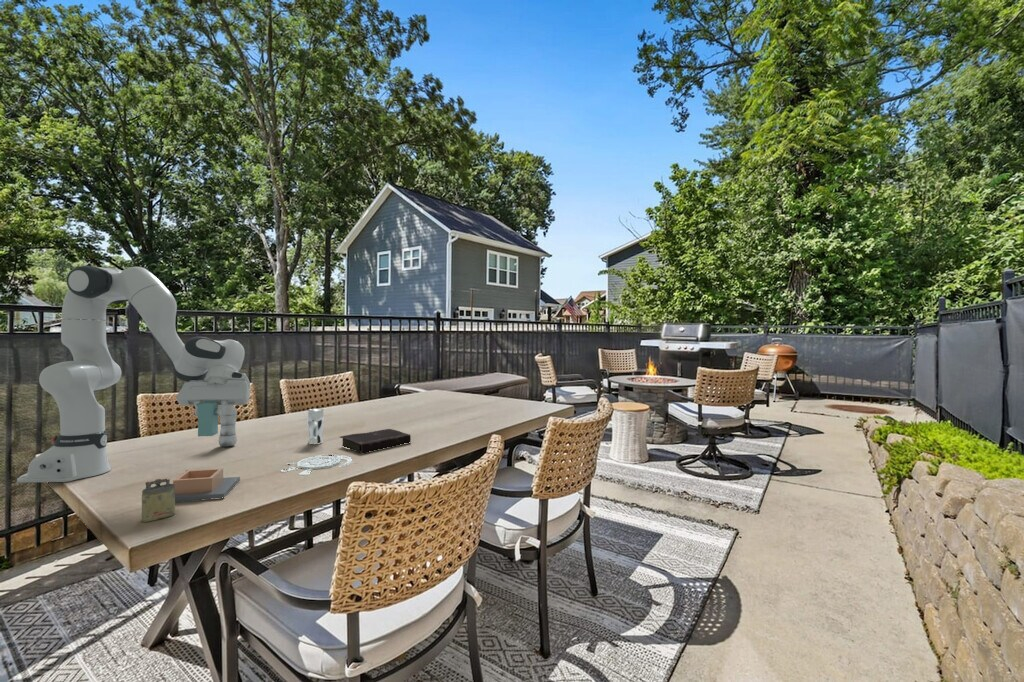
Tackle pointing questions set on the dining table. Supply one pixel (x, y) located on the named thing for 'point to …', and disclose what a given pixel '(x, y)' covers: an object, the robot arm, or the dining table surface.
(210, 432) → the peg
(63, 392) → the robot arm
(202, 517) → the dining table surface
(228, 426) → the plastic bottle
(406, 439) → the diary
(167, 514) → the green boxy piece
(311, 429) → the beer glass
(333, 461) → the pendant
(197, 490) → the holder
